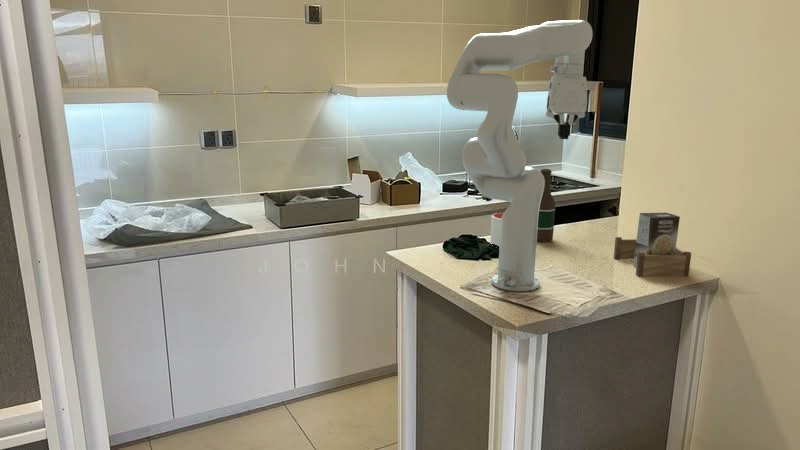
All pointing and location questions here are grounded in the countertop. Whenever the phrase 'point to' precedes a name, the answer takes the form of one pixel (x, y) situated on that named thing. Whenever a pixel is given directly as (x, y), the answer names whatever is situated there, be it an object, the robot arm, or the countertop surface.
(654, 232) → the coffee box
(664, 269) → the crate
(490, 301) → the countertop surface
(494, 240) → the cup
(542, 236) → the beer bottle
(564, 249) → the countertop surface
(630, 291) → the countertop surface
